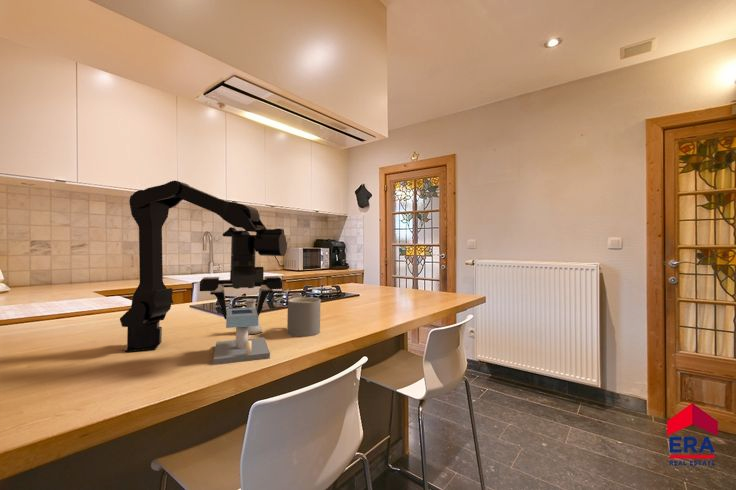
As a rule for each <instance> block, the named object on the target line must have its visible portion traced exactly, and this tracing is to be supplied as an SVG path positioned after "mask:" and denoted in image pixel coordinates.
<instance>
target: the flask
mask: <svg viewBox="0 0 736 490" xmlns="http://www.w3.org/2000/svg"><path fill="white" fill-rule="evenodd" d="M256 302H257V298H247V299H245V303H246V306H245V308H254V307H256ZM262 332H263V327H262V324H261V322H260V319H259V318H258V326H248V335H256V334H259V333H262Z"/></svg>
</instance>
